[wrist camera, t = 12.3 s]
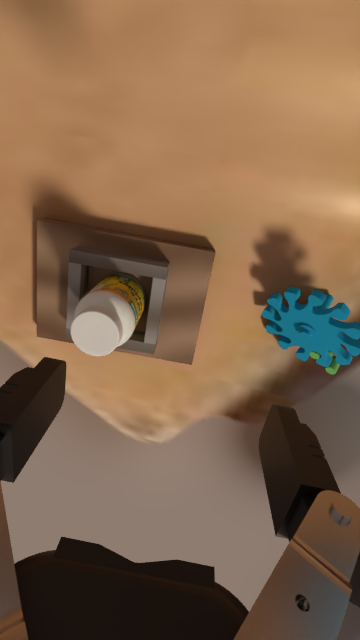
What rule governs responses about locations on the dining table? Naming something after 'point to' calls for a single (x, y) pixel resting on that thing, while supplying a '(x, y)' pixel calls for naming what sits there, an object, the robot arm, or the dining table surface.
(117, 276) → the supplement bottle
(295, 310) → the gear
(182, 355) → the socket stand
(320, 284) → the dining table surface
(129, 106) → the dining table surface
